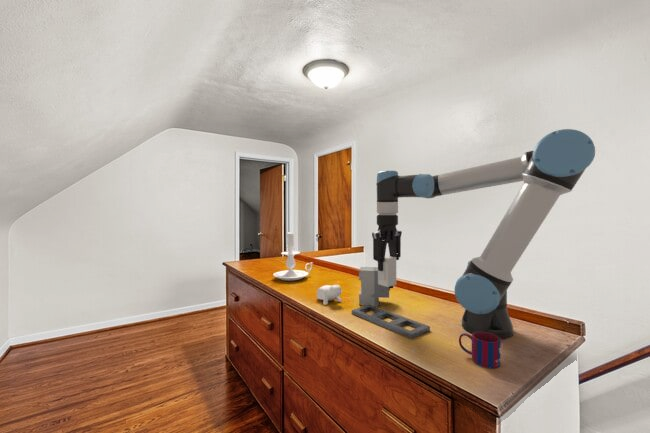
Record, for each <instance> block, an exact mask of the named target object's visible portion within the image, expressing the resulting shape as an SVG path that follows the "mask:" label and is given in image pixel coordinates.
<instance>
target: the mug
mask: <svg viewBox="0 0 650 433" xmlns="http://www.w3.org/2000/svg"><path fill="white" fill-rule="evenodd" d="M464 336H465V337H468V338H469V339H470V340H471V350H469V349H467V348H465V347H464V346H463V344H462V337H464ZM501 340H502V338H499V337H498V336H496V335H494V334H491V333H488V332H474V333H471V335H470V334H469V333H465V332H464V333H461V334H460V335H459V337H458V343H459V344H458V345H459V347H460V348H461V350H463V351H464V352H465V353H466V354H468V355H470V356H471V360H472V362H473V363H474V364H476V365H477V366H478V367H479V366H480V367H482V368H486V369H498V368H499V367H501V348H502V347H501V346H502V345H501Z"/></svg>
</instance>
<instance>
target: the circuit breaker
mask: <svg viewBox="0 0 650 433" xmlns="http://www.w3.org/2000/svg"><path fill="white" fill-rule="evenodd" d="M358 280H359V281H360V290H359V292H358V293H359V294H358V306H367V305H372V306H375V307H379V303H380V298H384V299H385V298H388V299H389V298H390V291H391V289H394V285H393V286H389V287H386V286H383V285H379V284H378V266H360V268H359V271H358Z"/></svg>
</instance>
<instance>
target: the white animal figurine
mask: <svg viewBox="0 0 650 433" xmlns="http://www.w3.org/2000/svg"><path fill="white" fill-rule="evenodd" d="M341 295H342V288H341V286H340V285H339V284H333V285H330V284H325V285H323V286H320V287H318V288H317V290H316V298H317V300H322V301H323V302H322V304H323V305H324V306H327V305H328V303H329V301H332V300H336V302H338V303H342V298H341Z"/></svg>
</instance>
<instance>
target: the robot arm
mask: <svg viewBox="0 0 650 433" xmlns="http://www.w3.org/2000/svg"><path fill="white" fill-rule="evenodd" d="M595 156H596V146H595V143H594V142H593V140H592V138H591V137H590V136H589V135H588V134H586V133H585V132H583V131H581V130H578V129H573V128H564V129H558V130H554V131H552V132H550V133H548V134H546V135H545V136H543V137H542V138H541V139H540V140H539V141H538V142H537V143H536V144H535V146H534V148H533V150H529V151H525V152H524V153H523V154H522V156H519V157H514V158H509V159H505V160H500V161H495V162H491V163H486V164H482V165H478V166H477V165H476V166H472V167H468V168H463V169H460V170H456V171H450V172H446V173H445V172H444V173H441V174H437V175H431V174H429V173H418V174H411V175H399V173H398V171H397V170H382V171H381V170H380V171H378V172H377V175H376V183H375V185H376V214H377V215H376V225H377V226H378V229H377V231H375V232H371V237H372V241H373V242H372V245H373V246H372V248H373V250H372V252H373V253H372V258H373V260H374V261H376V262H377V267H378V271H379V279H380V280H384V281H385V280H386V262H384V259H385V256H386V251H387V246H388V254H389V256H392V257H396V261H399V260H400V258H401V255H402V254H401V253H402V252H401V251H402V250H401V248H402V247H401V246H402V242H401V240H402V230H398V229H397V226H398V225H399V216H398V213H399V198H423V199H424V198H425V199H434V198H436V197H440V196H444V195H451V194H456V193H462V192H469V191H474V190H479V189H486V188H491V187H497V186H501V185H509V184H513V183H519V182H523V183H522V185H521V186H520V189H519V190H518V192H517V194H516V195H515V196H514V199H513V201H512V202H511V204H510V205H509V207H508V209H507V211H506V212H505V214H504V216H503V217H502V219H501V221H500V223H499V224H498V226H497V227H496V229H495V230H494V232H493V234H492V236H491V237H490V239H489V241H488V243H487V244H486V246H485V248H484V249H483V251H482V253H480V254H481V255H480V256H477V257H473V258H472V259H470V260H468V262H467V265H466V269H465V270H464V272H463V273H462V276H460V277H459V278H458V279H457V280H456V282H455V284H454V290H453V291H454V296H455V298H456V301H457V302H458V303H459V305H460V306H461V307H462V308H464V312H463V315H462V318H461V327H462V328H463V329H464V330H465V331H467V332H469V333H471V334H472V333H474V332H488V333H491V334H494V335H496V336H498V337H499V338H500V339H507V338H510V337H511V338H512V336H513V335H514V325H513V323H512V320H511V318H510V315H509V312H508V305H507V304H508V289H509V287H510V286H511V285H512V283H513V281H514V278H513V276H512V271H513V269H514V268H515V266H516V265H517V263H518V262H519V261H520V258H521V257H522V255H523V253H525V251H526V249H527V247H528V246H529V245H530V243H531V242H532V240H533V238H534V237H535V235H536V234H537V232H538V230H539V229H540V227H541V226H542V224H543V222H545V220H546V218H547V216H548V215H549V213H550V212H551V210H552V208H553V207H554V206H555V204H556V202H557V201H558V199H559V197H560V196H562V195H564V194H568V193H571V192H572V191H573V189H574V188H575V186H576V185H577V183H578V181H579V180H580V178H581V176H583V174H584V172H585V171H586V169H587V168H589V166H590V165H591V164H592V163H593V161H594V159H595Z"/></svg>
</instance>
